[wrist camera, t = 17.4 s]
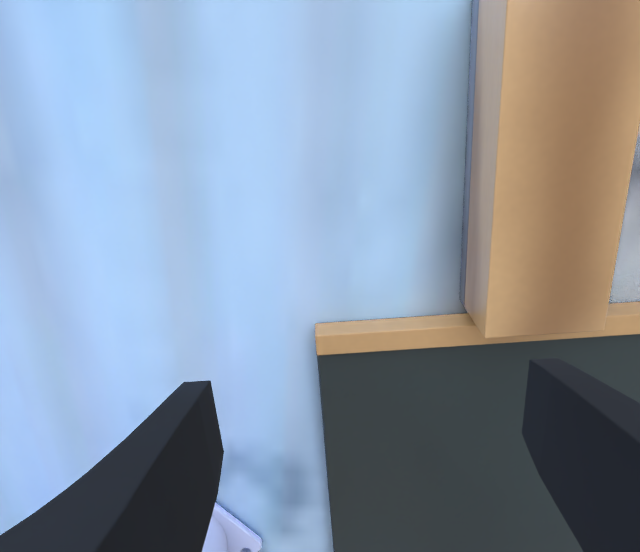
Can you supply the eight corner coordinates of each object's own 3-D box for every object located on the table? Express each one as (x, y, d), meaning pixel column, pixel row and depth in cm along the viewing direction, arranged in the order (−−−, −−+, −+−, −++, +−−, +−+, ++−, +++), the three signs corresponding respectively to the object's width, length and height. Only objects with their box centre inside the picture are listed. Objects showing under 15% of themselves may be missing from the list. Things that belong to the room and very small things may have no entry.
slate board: (343, 663, 31) (344, 685, 30) (314, 323, 22) (314, 335, 21) (656, 646, 31) (669, 667, 30) (763, 292, 21) (787, 304, 20)
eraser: (458, 300, 21) (484, 339, 18) (472, -10, 17) (509, -31, 14) (560, 293, 21) (604, 331, 18) (601, -20, 17) (669, -43, 14)
